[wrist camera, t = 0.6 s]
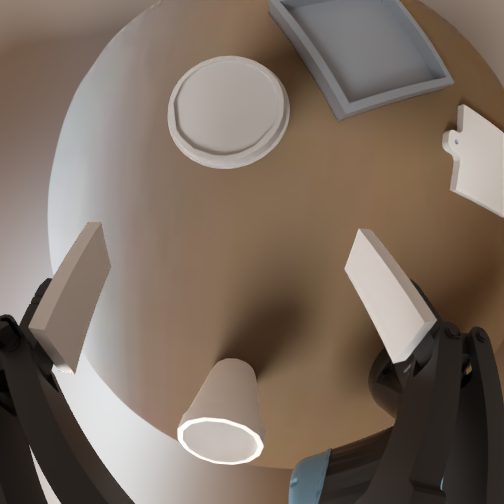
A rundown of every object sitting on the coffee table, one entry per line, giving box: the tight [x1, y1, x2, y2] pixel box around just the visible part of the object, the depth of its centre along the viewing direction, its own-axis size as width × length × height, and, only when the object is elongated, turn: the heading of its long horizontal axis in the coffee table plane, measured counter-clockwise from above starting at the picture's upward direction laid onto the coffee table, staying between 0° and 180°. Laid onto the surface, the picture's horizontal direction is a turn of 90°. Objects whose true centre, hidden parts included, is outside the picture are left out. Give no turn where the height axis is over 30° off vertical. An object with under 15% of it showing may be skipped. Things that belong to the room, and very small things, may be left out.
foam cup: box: [178, 358, 265, 465], centre depth 30 cm, size 10×9×13 cm
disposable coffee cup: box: [168, 56, 290, 169], centre depth 23 cm, size 10×10×12 cm
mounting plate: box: [442, 104, 504, 218], centre depth 26 cm, size 18×13×2 cm
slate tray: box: [269, 0, 454, 122], centre depth 23 cm, size 18×18×4 cm
